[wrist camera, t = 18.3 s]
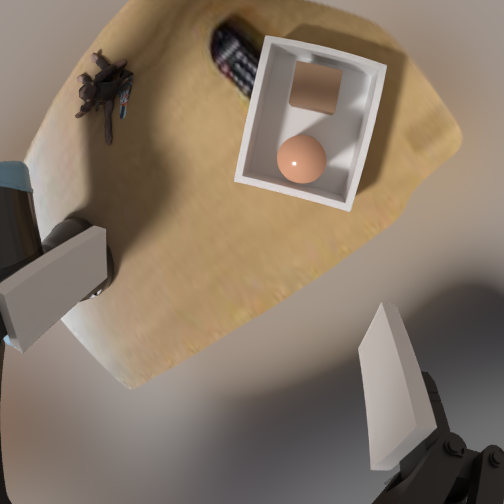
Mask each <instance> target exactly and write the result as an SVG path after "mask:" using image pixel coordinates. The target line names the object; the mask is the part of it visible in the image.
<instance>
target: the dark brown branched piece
mask: <svg viewBox="0 0 504 504" xmlns="http://www.w3.org/2000/svg"><path fill="white" fill-rule="evenodd" d="M91 59H92V61H93V62H95V63H96V64H97V65H98V66H99V67H100V68H101V69H102V71H101V72H99V73H98V74H97V75H96V76H95V80H94V82H93V81H92V80H91V78H90V77H88V76H86V75H80V76H78V77H77V81H79V82H83V84H84V86H82V87H81V88H80V90H79V97H80V98H81V99H83V100H84V101H86V103H85V104H84V105H82V106H81V109H80V112H79V113H77V114H76V115H75V117H76V118H80V117H82V116H83V115H85V114H86V113H87V112H89V111H90V110H91V108H92V107H94V106H95V104H96V111H97V110H98V109H99V105H103V101H101V102H98V101H100V100H105V102H104V113H105V137H106V143H107V144H110V143H111V141H112V123H111V115H112V111H113V107H114V99H115V97H116V95H119V97H120V118H121V119H124V118H125V115H126V106H127V102H128V99H129V96H130V92H131V88H132V82H133V77H132V75H133V73H132V72H129V71H127V70H123V71H122V72H121V74H120V76H119V79H118V80H115V81H113V75H115V74H116V73H118V72H119V71H120V70H121V69H123V68H124V67H125V66H126V63H127V61H126V59H123V60H120V61H118V62H115V63H114V64H112V65H110V64H108V63H107V62H106V61H105V60H104V59H103V57H100V56H99V55H98V54H96V53H93V54H92V55H91Z"/></svg>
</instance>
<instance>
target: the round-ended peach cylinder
mask: <svg viewBox="0 0 504 504" xmlns="http://www.w3.org/2000/svg"><path fill="white" fill-rule="evenodd" d="M277 163H278V167H279V169H280V171H281V173H282V174H283V175H284V176H285V177H286V178H287V179H289V180H290V181H292V182H295V183H302V184H303V183H309V182H312V181H314V180H316V179H317V178H319V177H320V176H321V174H322V173H323V171H324V169H325V166H326V154H325V151H324V149H323V147H322V146H321V144H320V143H319V142H318V141H317V140H316V139H315V138H313V137H311V136H308V135H297V136H293V137H291V138H289V139H287V140H286V141H285V142H284V143H283V144H282V145H281V147H280V148H279V151H278V154H277Z"/></svg>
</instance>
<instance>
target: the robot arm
mask: <svg viewBox="0 0 504 504" xmlns="http://www.w3.org/2000/svg"><path fill="white" fill-rule="evenodd" d="M112 278H113V261H112V256H111V253H110V250H109V248H108V246H107V244H106V229H105V228H101V227H98V226H93V225H91V224H90V223H89V222H87V221H85V220H83V219H80V218H69V219H67V220H65V221H62V222H60V223H59V224H57V225H56V226H55V227H54V228H53V230H52V231H51V233H50V234H49V235H48V236H47V237H46V238H45V239H44V240H43V242H42V243H41V238H40V234H39V229H38V224H37V219H36V213H35V207H34V200H33V189H32V187H31V182H30V176H29V170H28V167H27V165H26V164H25V163H23V162H21V161H5V162H0V398H1V381H2V369H3V359H4V351H5V342H6V343H7V344H9V345H10V346H12V347H15V348H16V349H17V350H19V351H20V352H22V353H24V352H26V351H27V350H28V348H30V346H32V345H33V344H34V343H35V342H36V341H37V340H38V339H39V338H40V337H41V336H42V335H43V334H44V333H45V332H46V331H47V330H49V329H50V328H51V327H52V326H53V325H54V324H55V323H56V322H57V321H58V320H59V319H60V318H62V317H63V316H64V315H65V314H66V313H67V312H68V311H69V310H70V309H72V308H73V307H74V306H75V305H76V304H77V303H78V302H81V301H84V300H87V299H89V298H93V297H96V296H98V295H100V294H101V293H102V292H103V291H104V290H105V289H107V288H108V286H109V285H110V283H111V281H112ZM358 350H359V356H360V363H361V370H362V378H363V385H364V393H365V402H366V411H367V421H368V433H369V445H370V461H371V470H391V469H392V468H393V467H394V466H396V465H397V464H398V463H400V471H399V472H398V473H397V474H396V475H394V476H393V477H392V478H390V479H389V480H388V481H386V482H385V483H384V484H385V485H387V484H388V483H389V484H388V485H387V486H386V487H385V489H384V490H383V491H382V493H381V494H380V495H379V496H378V497H377V498H376V499H375V501H374V502H373V503H372V504H503V500H504V451H503V450H502V449H501V448H500V447H498V446H496V445H490V446H488V447H486V448H485V449H484V450H483V451H482V452H481V453H480V452H477V451H473V450H469V449H467V448H466V444H465V442H464V441H463V439H462V438H461V437H460V436H459V435H457V434H455V433H452V432H450V429H449V425H448V422H447V418H446V415H445V412H444V408H443V405H442V403H441V399H440V396H439V394H438V390H437V387H436V384H435V382H434V380H433V379H432V378H431V376H430V375H429V374H428V372H422V371H420V368H419V365H418V363H417V359H416V357H415V354H414V351H413V348H412V345H411V342H410V340H409V337H408V334H407V332H406V329H405V327H404V324H403V321H402V319H401V316H400V314H399V311H398V309H397V306H396V305H392V304H388V303H384V302H381V304H380V307H379V308H378V310H377V312H376V314H375V317H374V319H373V321H372V323H371V325H370V327H369V329H368V331H367V333H366V335H365V337H364V339H363V340H362V342H361V344H360V346H359V348H358ZM2 464H3V463H2V452H1V434H0V504H12V503H11V501H10V500H9V498H8V496H7V492H6V487H5V481H4V473H3V465H2ZM466 500H467V502H466Z"/></svg>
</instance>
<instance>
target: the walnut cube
mask: <svg viewBox="0 0 504 504" xmlns="http://www.w3.org/2000/svg"><path fill="white" fill-rule="evenodd" d="M342 73H343V71H342V70H339V69H334V68H330V67H326V66H322V65H317V64H312V63H307V62H302V61H296V66H295V72H294V77H293V82H292V87H291V92H290V97H289V102H288V103H289V104H290V105H291V107H296V108H301V109H305V110H310V111H314V112H319V113H323V114H327V115H331V116H332V115H333V114H334V113H335V110H336V105H337V100H338V95H339V89H340V84H341V79H342Z"/></svg>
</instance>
